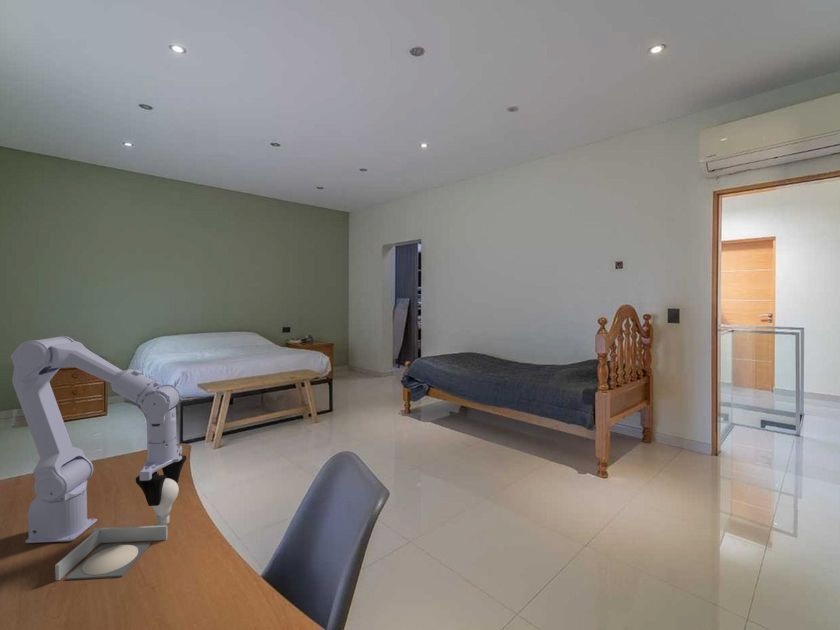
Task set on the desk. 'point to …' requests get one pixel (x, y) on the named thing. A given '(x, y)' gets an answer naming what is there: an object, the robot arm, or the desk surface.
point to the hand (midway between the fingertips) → (163, 496)
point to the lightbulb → (166, 501)
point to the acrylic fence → (107, 537)
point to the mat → (109, 561)
